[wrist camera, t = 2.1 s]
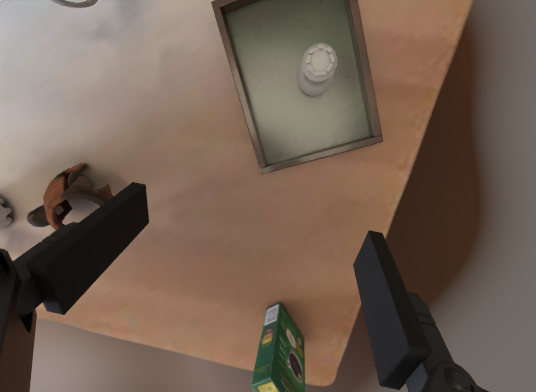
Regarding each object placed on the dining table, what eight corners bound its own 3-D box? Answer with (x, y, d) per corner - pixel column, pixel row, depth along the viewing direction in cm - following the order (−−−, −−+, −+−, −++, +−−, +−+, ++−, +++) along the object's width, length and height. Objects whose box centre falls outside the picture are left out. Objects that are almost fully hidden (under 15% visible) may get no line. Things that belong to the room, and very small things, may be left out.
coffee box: (264, 306, 40) (248, 387, 28) (280, 299, 39) (271, 379, 27) (289, 344, 41) (285, 439, 29) (305, 338, 41) (307, 433, 28)
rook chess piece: (309, 104, 32) (312, 96, 24) (289, 72, 31) (285, 54, 23) (341, 81, 31) (355, 65, 23) (321, 47, 30) (328, 20, 22)
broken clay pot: (98, 147, 37) (83, 174, 31) (140, 194, 43) (135, 225, 36) (21, 185, 37) (-11, 220, 30) (74, 227, 42) (56, 264, 36)
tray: (217, 10, 30) (210, 1, 28) (344, -41, 28) (347, -55, 26) (263, 171, 35) (261, 174, 33) (377, 140, 32) (383, 141, 30)
